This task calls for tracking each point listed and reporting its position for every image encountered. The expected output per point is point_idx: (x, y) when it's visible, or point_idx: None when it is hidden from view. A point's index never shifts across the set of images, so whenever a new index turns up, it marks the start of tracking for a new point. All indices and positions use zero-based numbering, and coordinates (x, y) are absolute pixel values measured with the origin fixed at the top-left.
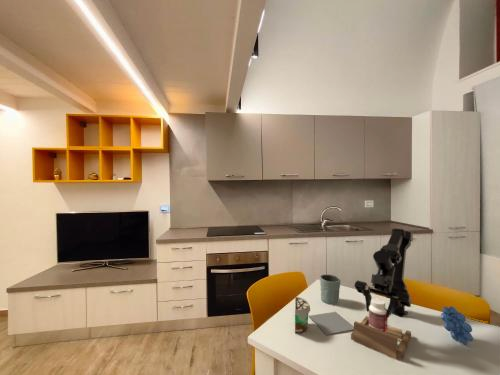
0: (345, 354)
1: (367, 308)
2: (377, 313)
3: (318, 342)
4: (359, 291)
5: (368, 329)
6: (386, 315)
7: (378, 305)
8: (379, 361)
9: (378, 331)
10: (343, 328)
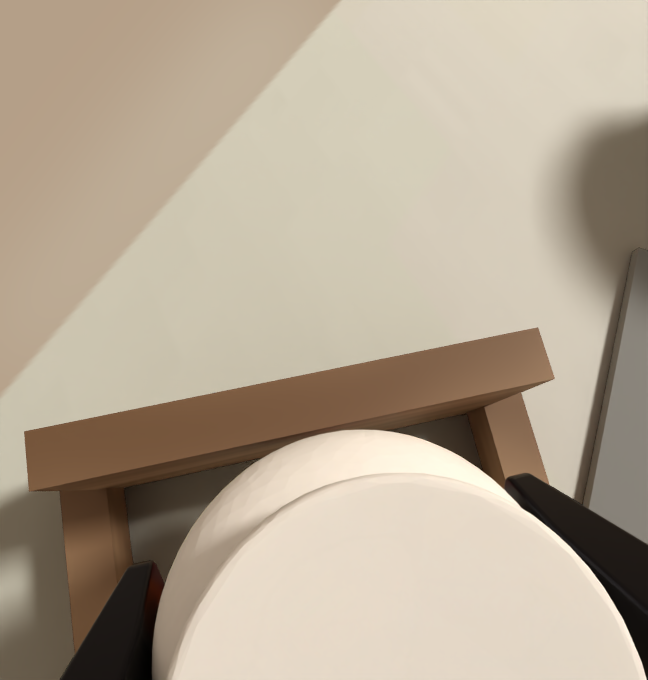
0: (393, 176)
1: (539, 493)
2: (287, 449)
3: (592, 133)
4: None
5: (357, 365)
6: (142, 580)
7: (288, 507)
8: (194, 310)
9: (244, 401)
10: (639, 458)
